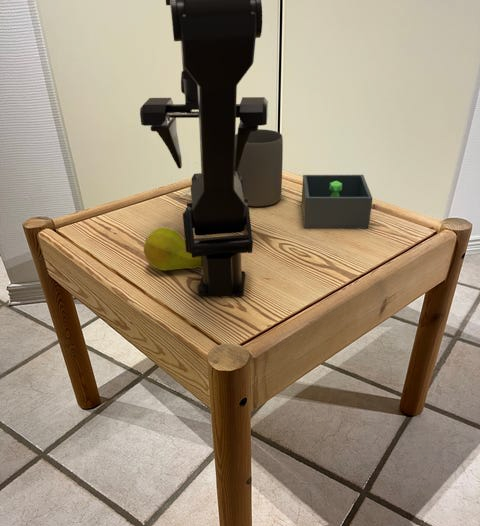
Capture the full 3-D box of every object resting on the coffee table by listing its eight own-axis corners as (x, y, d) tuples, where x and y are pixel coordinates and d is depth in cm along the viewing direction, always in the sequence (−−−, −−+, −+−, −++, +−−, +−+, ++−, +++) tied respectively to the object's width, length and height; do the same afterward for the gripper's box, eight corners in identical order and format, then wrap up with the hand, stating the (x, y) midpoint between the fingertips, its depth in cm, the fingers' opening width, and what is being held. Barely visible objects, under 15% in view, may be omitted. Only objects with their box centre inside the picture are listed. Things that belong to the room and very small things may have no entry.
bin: (368, 228, 90) (372, 198, 86) (304, 228, 90) (305, 198, 87) (359, 202, 99) (363, 174, 96) (301, 202, 99) (303, 174, 96)
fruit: (142, 259, 82) (214, 283, 83) (136, 264, 76) (213, 290, 77) (155, 220, 80) (227, 246, 82) (149, 222, 74) (227, 250, 76)
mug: (273, 187, 106) (274, 127, 99) (287, 203, 99) (290, 140, 92) (208, 194, 103) (205, 133, 96) (219, 212, 96) (215, 148, 89)
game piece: (343, 218, 92) (346, 186, 88) (319, 215, 93) (321, 183, 90) (347, 209, 95) (351, 177, 92) (324, 206, 96) (327, 175, 93)
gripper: (269, 50, 79) (268, 152, 88) (150, 51, 80) (161, 151, 89) (267, 62, 70) (266, 175, 79) (132, 64, 71) (146, 174, 80)
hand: (208, 167), depth 82 cm, fingers open, 9 cm apart
